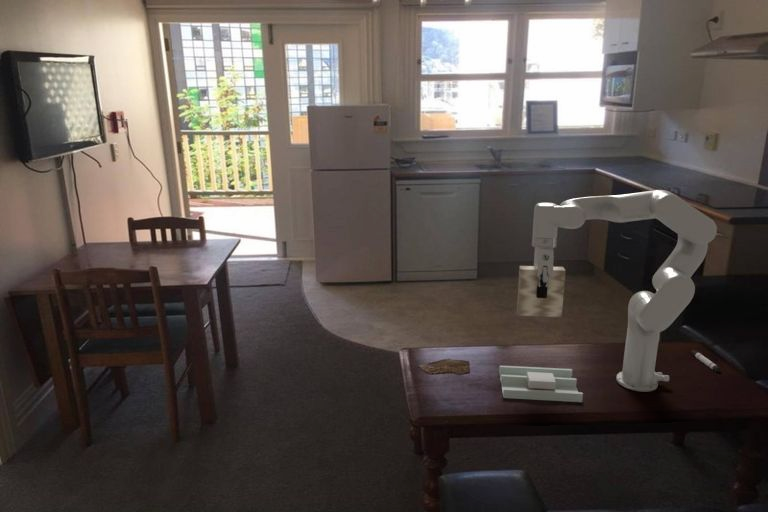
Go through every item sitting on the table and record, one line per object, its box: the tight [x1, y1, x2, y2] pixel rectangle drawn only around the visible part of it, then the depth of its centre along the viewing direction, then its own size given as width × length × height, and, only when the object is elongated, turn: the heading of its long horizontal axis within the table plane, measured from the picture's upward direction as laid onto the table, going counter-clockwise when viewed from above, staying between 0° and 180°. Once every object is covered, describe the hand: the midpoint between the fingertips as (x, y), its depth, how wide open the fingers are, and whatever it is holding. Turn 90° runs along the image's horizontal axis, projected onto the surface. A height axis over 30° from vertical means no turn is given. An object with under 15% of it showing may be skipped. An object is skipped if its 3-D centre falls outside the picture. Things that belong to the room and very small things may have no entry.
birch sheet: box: [516, 265, 567, 318], centre depth 181 cm, size 14×4×16 cm, turn 83°
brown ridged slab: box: [418, 358, 471, 375], centre depth 196 cm, size 26×11×1 cm, turn 90°
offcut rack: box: [498, 365, 584, 403], centre depth 180 cm, size 24×18×4 cm
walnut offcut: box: [526, 381, 555, 391], centre depth 177 cm, size 8×6×2 cm
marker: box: [691, 349, 722, 373], centre depth 198 cm, size 15×2×2 cm, turn 4°
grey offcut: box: [527, 372, 556, 389], centre depth 176 cm, size 8×6×2 cm
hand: (540, 294), depth 182 cm, fingers closed on birch sheet, 4 cm apart
